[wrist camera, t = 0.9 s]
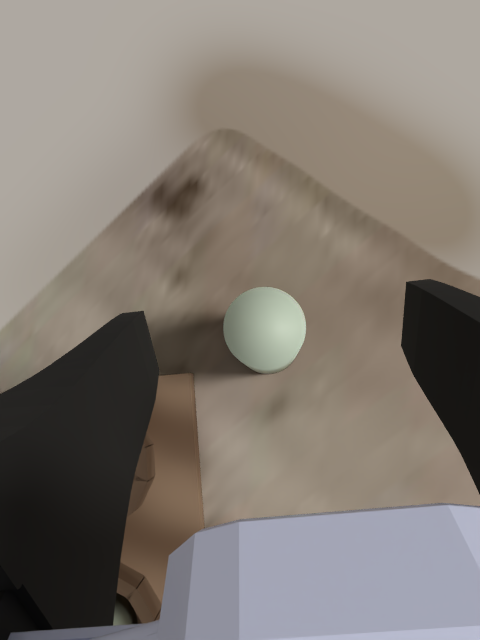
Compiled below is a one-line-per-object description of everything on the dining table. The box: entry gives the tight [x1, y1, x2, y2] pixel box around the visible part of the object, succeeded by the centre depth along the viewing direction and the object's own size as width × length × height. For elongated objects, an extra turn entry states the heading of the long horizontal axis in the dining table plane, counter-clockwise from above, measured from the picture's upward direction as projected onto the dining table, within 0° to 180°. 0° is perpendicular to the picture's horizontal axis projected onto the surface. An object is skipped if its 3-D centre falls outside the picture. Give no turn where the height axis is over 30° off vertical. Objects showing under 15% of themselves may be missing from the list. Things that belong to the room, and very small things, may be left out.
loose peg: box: [223, 287, 306, 374], centre depth 24 cm, size 4×4×7 cm
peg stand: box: [113, 373, 204, 626], centre depth 22 cm, size 19×12×8 cm, turn 5°
